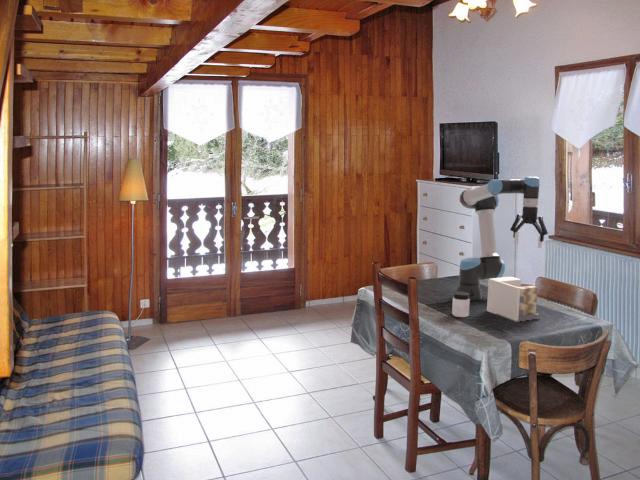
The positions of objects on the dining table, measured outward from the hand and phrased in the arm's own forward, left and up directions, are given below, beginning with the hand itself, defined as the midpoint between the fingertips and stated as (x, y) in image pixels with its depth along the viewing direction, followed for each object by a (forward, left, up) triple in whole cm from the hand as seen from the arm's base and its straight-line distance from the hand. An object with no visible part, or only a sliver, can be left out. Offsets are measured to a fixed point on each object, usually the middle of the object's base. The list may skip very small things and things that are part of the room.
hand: (527, 245), depth 339 cm
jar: (+30, -20, -37) cm, 52 cm away
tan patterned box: (+10, +6, -36) cm, 38 cm away
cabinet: (+9, -2, -37) cm, 38 cm away
